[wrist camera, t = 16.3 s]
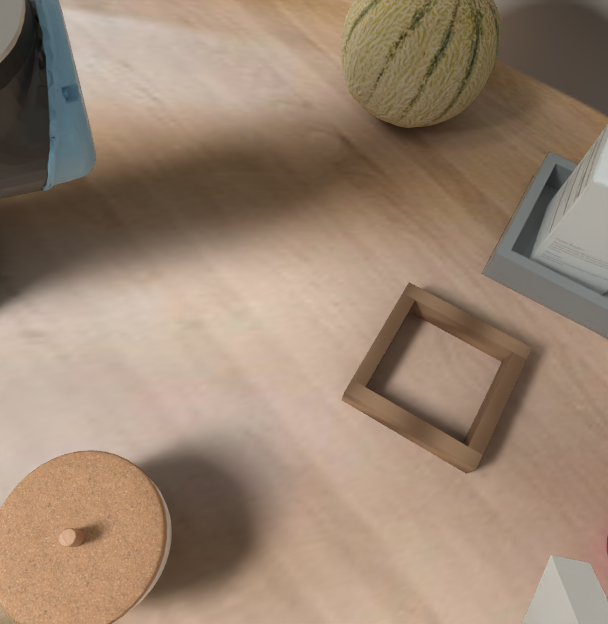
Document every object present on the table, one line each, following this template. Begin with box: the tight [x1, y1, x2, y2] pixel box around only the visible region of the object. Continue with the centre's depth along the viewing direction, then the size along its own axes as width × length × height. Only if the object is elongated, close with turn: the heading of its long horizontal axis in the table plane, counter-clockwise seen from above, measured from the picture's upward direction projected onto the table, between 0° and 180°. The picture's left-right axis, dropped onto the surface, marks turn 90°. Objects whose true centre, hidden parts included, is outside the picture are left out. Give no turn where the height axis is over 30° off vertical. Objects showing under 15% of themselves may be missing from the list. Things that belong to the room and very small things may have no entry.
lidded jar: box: [0, 451, 172, 624], centre depth 37 cm, size 11×11×9 cm
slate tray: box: [482, 152, 608, 338], centre depth 51 cm, size 13×13×4 cm
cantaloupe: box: [340, 0, 501, 128], centre depth 53 cm, size 15×15×15 cm
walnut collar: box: [342, 283, 532, 473], centre depth 46 cm, size 11×11×2 cm
